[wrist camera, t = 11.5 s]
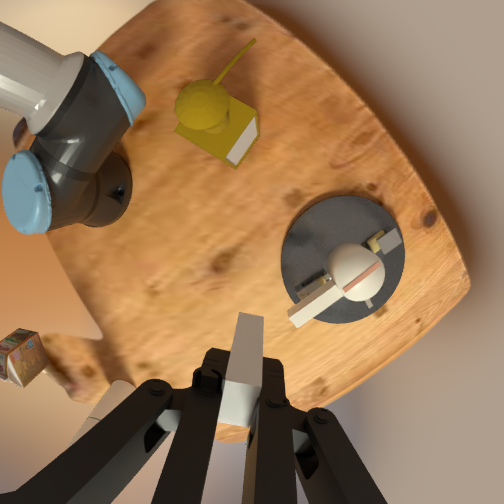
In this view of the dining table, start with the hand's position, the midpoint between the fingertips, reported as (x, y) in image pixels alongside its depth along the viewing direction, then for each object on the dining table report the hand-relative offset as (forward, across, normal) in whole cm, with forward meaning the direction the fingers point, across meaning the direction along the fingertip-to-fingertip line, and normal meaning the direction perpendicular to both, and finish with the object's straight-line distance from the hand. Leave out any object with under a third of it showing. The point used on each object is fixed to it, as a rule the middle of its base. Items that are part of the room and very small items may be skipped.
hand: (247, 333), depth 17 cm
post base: (+32, +16, -1) cm, 36 cm away
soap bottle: (+33, -7, +18) cm, 38 cm away
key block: (+31, +15, -2) cm, 34 cm away
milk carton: (+33, -59, -44) cm, 81 cm away
